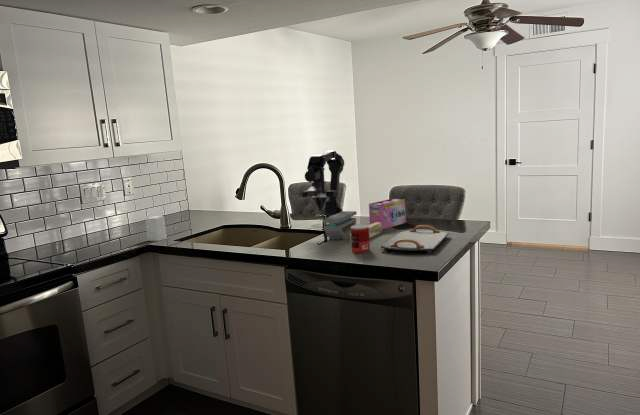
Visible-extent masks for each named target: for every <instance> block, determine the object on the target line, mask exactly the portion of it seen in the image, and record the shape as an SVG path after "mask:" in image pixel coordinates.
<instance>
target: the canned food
mask: <svg viewBox="0 0 640 415" xmlns="http://www.w3.org/2000/svg"><path fill="white" fill-rule="evenodd" d="M351 243H352V244H351V251H352V253H353V252H354V253H353V254H365V253H366V254H367V253H369V252H370V250H371V249H370V248H371V247H370V246H371V245H370V238H369V226H368V224H356V225H354V226H351Z"/></svg>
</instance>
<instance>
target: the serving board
mask: <svg viewBox="0 0 640 415" xmlns="http://www.w3.org/2000/svg"><path fill="white" fill-rule="evenodd" d="M418 229H430V230H418ZM449 235H450V233H449V232H448V231H441V230H438V229H436V227H434V226H432V225H429V224H420V225H416V226H415V227H414V228H413V229H409V230H404V231H400V232H399V233H397V234H396V235H394V236H393V237H391V238H390V239H388V240H386V242H384V243H383V244H382V245H381V246H380V248H381V249H383V252H384V253H389V250H393V251H394V250H395V251H413V252H417V251H425V253H426V255H431V254H432V251H433V250H435V249H436V248H437V247H438V246H439V245H440V244H441V243H442V242H443V241H444V240H445V239H446V238H447V237H448V236H449Z"/></svg>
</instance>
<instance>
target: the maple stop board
mask: <svg viewBox="0 0 640 415" xmlns="http://www.w3.org/2000/svg"><path fill="white" fill-rule="evenodd" d="M367 225H368V224H367ZM368 226H369V239H370V238H372V237H374V236H376V235H378V234H381V233H382V232H383V231H382V230H383V229H382V226H381V222H375V223H373V224H371V225H370V224H369V225H368ZM349 239H350V240H349V243H350V245H352V243H351V234H350V236H349Z"/></svg>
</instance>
